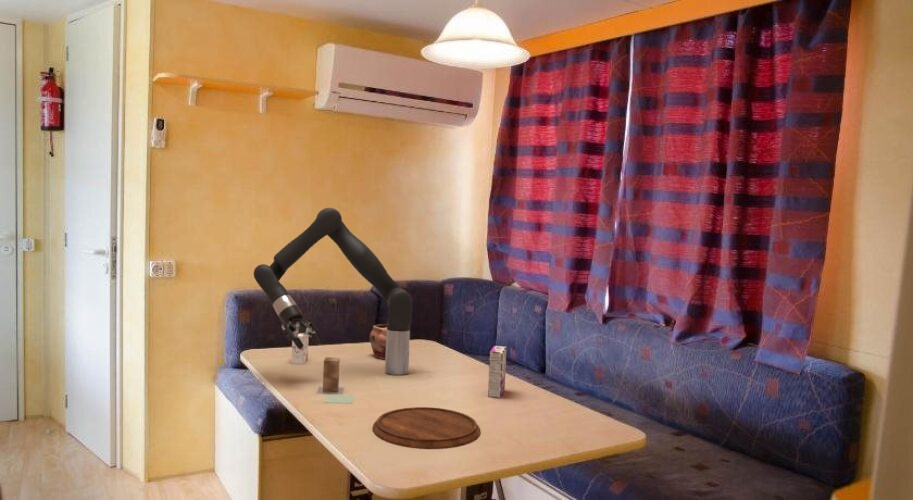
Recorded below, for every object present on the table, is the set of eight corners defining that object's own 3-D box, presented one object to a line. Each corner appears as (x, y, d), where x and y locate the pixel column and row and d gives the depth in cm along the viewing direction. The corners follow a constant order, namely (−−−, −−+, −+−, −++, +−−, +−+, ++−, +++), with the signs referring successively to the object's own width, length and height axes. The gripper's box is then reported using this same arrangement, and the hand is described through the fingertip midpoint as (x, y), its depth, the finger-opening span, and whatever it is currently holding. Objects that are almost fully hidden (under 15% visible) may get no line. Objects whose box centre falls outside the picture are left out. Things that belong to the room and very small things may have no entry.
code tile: (344, 388, 233) (344, 387, 233) (342, 395, 224) (342, 394, 224) (319, 387, 232) (319, 386, 232) (316, 394, 223) (316, 393, 223)
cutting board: (422, 407, 215) (423, 400, 215) (501, 431, 195) (502, 423, 195) (349, 429, 191) (350, 421, 191) (431, 459, 171) (431, 450, 170)
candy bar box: (491, 389, 241) (493, 345, 240) (504, 390, 240) (507, 346, 239) (486, 397, 230) (489, 351, 229) (500, 398, 229) (503, 352, 228)
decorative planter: (359, 353, 291) (361, 322, 290) (383, 350, 298) (385, 320, 297) (381, 362, 274) (383, 330, 274) (406, 359, 281) (407, 328, 281)
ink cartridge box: (296, 359, 273) (297, 324, 272) (308, 359, 273) (309, 325, 272) (290, 363, 265) (292, 328, 264) (302, 364, 265) (304, 328, 264)
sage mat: (353, 396, 223) (354, 395, 223) (352, 404, 214) (352, 403, 214) (327, 396, 222) (327, 394, 222) (324, 403, 213) (324, 402, 213)
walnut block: (338, 388, 230) (339, 357, 230) (337, 392, 226) (338, 361, 225) (324, 388, 230) (325, 357, 229) (322, 391, 225) (323, 360, 224)
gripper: (278, 305, 230) (301, 342, 224) (306, 302, 242) (329, 336, 237) (267, 319, 232) (290, 355, 227) (295, 314, 245) (317, 349, 240)
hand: (310, 345), depth 232 cm, fingers open, 8 cm apart
